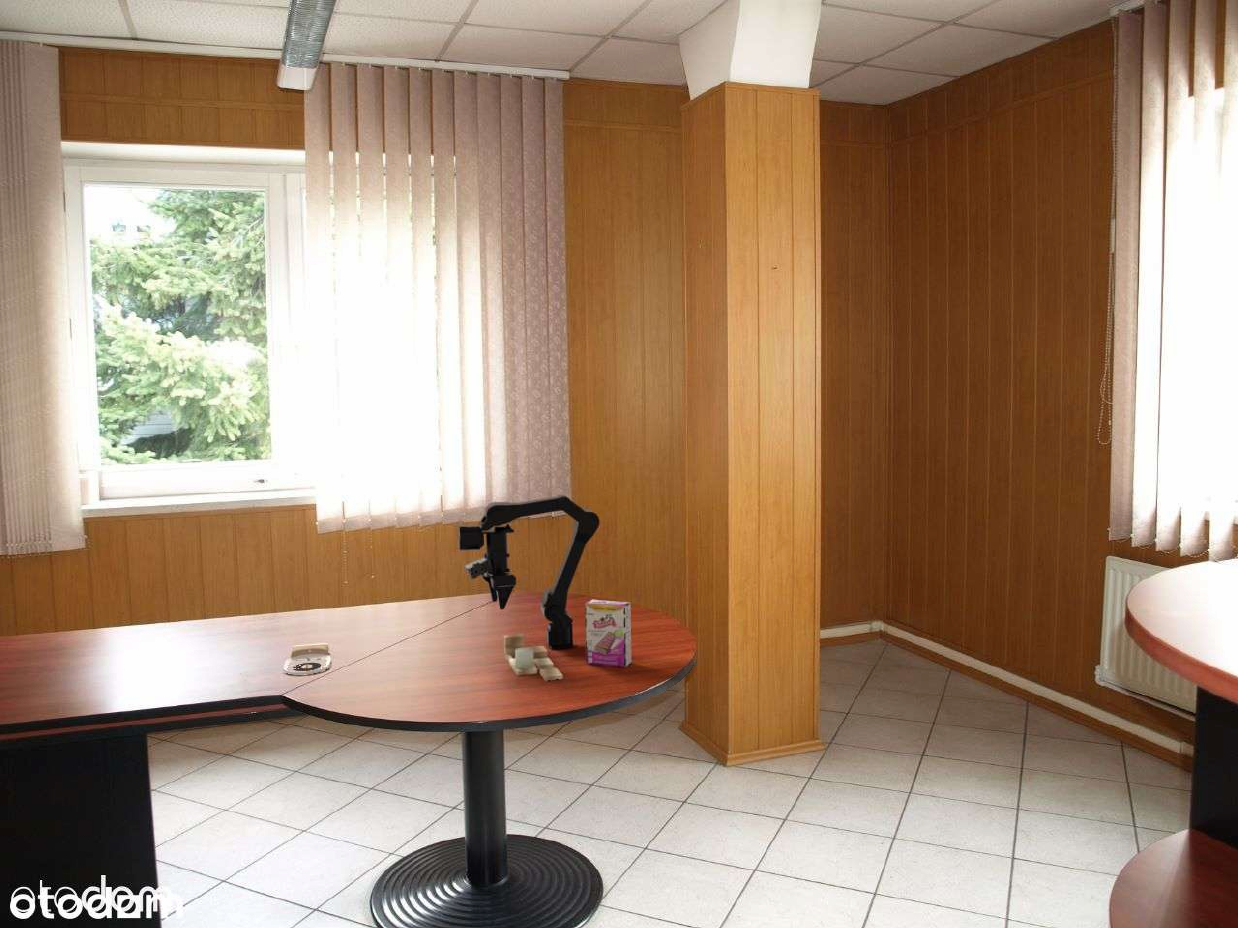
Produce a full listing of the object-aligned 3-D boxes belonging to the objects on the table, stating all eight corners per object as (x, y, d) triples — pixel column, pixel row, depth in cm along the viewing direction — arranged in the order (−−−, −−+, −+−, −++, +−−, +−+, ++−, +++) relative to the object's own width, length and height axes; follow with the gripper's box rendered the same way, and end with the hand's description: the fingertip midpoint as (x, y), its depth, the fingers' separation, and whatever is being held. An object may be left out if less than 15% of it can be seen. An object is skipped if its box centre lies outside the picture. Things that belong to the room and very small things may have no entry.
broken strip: (543, 654, 284) (543, 645, 284) (562, 678, 262) (562, 669, 262) (527, 655, 283) (527, 647, 283) (545, 680, 261) (545, 671, 261)
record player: (332, 642, 291) (328, 663, 271) (333, 653, 291) (328, 675, 272) (288, 645, 288) (280, 667, 269) (289, 656, 289) (281, 679, 269)
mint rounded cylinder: (531, 663, 273) (531, 646, 272) (535, 668, 268) (534, 651, 268) (514, 665, 271) (513, 648, 271) (517, 670, 267) (516, 653, 266)
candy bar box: (585, 665, 274) (584, 603, 272) (592, 659, 278) (590, 598, 277) (626, 668, 270) (624, 605, 268) (632, 662, 275) (631, 601, 273)
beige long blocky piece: (523, 653, 285) (522, 633, 285) (537, 673, 268) (536, 652, 267) (504, 655, 284) (503, 635, 283) (517, 675, 266) (516, 654, 266)
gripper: (460, 545, 292) (462, 600, 293) (474, 557, 274) (476, 616, 276) (500, 542, 295) (501, 597, 297) (516, 554, 278) (517, 612, 279)
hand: (498, 605), depth 287 cm, fingers open, 9 cm apart
